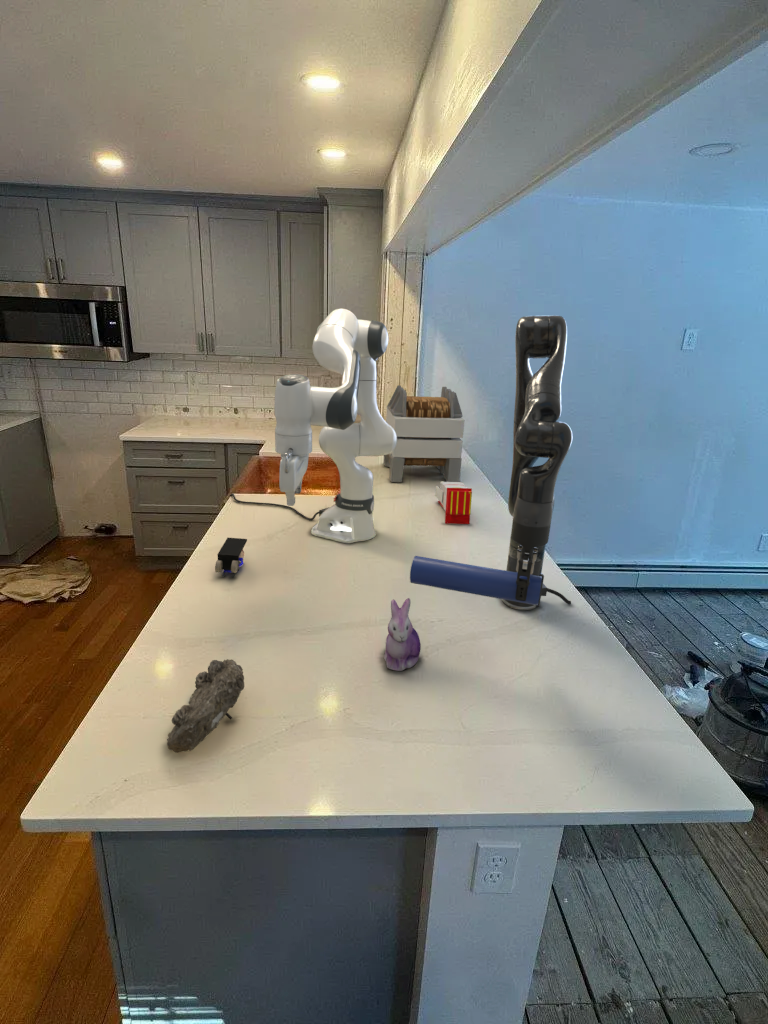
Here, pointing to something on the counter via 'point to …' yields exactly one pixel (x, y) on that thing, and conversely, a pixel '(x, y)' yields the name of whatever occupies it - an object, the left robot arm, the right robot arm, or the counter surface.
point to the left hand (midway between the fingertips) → (294, 498)
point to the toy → (455, 502)
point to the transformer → (425, 433)
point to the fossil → (206, 705)
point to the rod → (472, 579)
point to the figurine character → (230, 556)
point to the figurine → (401, 639)
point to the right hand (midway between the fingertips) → (521, 592)
